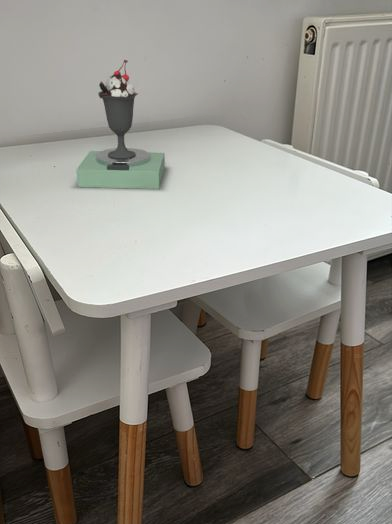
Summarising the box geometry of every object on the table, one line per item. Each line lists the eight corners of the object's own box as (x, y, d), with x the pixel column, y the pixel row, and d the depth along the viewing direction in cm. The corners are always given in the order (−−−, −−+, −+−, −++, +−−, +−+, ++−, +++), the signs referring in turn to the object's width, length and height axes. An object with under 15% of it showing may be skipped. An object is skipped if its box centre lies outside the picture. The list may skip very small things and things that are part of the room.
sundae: (144, 151, 102) (141, 59, 93) (134, 161, 96) (130, 64, 88) (109, 148, 102) (103, 57, 94) (98, 158, 97) (90, 62, 89)
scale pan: (91, 166, 96) (91, 161, 95) (101, 151, 104) (100, 147, 103) (147, 167, 96) (146, 163, 95) (152, 152, 104) (152, 148, 103)
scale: (78, 187, 96) (75, 165, 94) (91, 166, 106) (89, 147, 104) (159, 189, 96) (158, 168, 94) (164, 168, 106) (164, 149, 104)
